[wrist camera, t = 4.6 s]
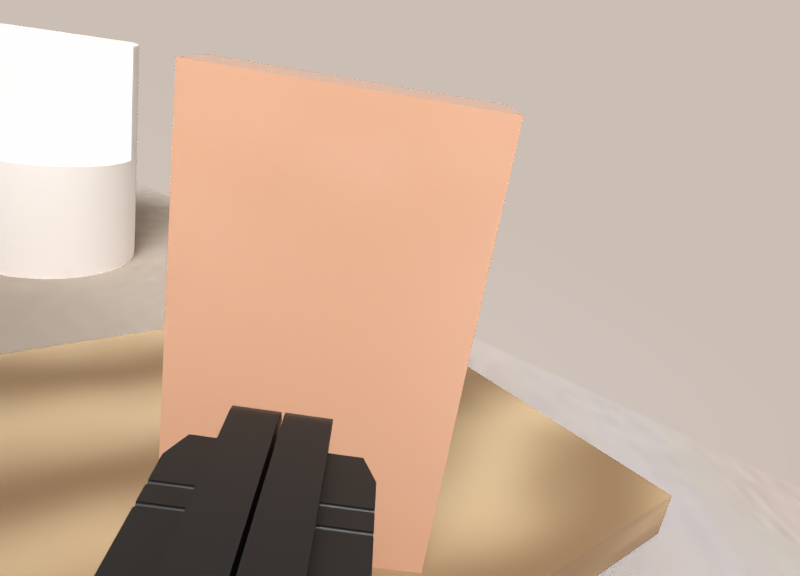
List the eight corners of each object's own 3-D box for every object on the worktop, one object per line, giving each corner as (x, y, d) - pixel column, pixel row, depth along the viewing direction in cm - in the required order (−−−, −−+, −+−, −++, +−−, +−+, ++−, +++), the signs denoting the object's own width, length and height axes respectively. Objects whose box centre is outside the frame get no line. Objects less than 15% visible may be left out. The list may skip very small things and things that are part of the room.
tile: (421, 573, 18) (523, 115, 14) (155, 540, 17) (176, 57, 13) (418, 509, 20) (504, 103, 16) (185, 479, 20) (209, 53, 15)
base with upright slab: (134, 230, 44) (138, 39, 40) (134, 281, 37) (139, 51, 32) (-24, 222, 41) (-37, 13, 37) (-61, 276, 33) (-83, 20, 29)
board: (-114, 414, 23) (-118, 372, 22) (355, 325, 36) (359, 298, 35) (21, 978, 11) (17, 918, 10) (657, 532, 23) (671, 495, 23)
